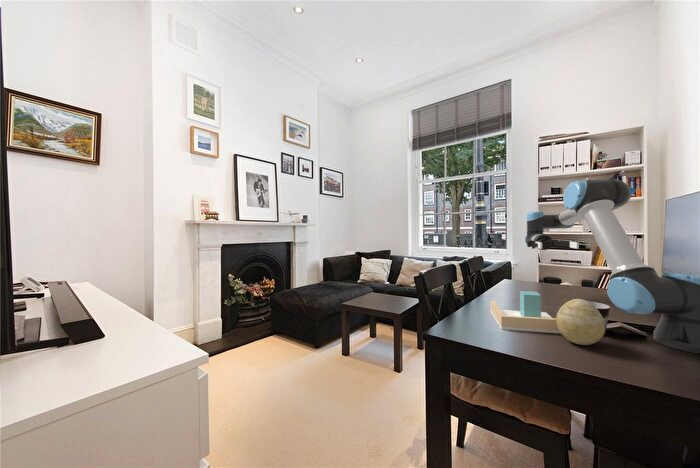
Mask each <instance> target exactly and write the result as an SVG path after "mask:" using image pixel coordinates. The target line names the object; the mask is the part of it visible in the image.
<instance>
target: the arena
mask: <svg viewBox="0 0 700 468" xmlns="http://www.w3.org/2000/svg"><path fill="white" fill-rule="evenodd" d="M489 303H490V313H491V315H492V316H493V318H494V320H495V321H496V322H497V324H498V326H499V327H500V329H501V330H504V331H505V330H506V331H519V332H533V333H534V332H535V333H537V332H538V333H550V334H561V332H560V331H559V329H558V327H557V323H556V317H552V316H551V315H550V314H548V312H546V311H544V312H543V311H541V318H539V317H523V316H521V315H520V310H510V309H509V310H508V309H501V308H500V307H499V305H498V304H497V303H496V301H495V300H490V302H489Z"/></svg>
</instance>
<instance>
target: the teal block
mask: <svg viewBox="0 0 700 468" xmlns="http://www.w3.org/2000/svg"><path fill="white" fill-rule="evenodd" d="M519 311H520V315H521V316H523V317H539V318H541V312H542V295H541V293H538V292H537V291H527V290H526V291H525V290H523V291H522V290H520V291H519Z"/></svg>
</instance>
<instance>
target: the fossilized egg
mask: <svg viewBox="0 0 700 468" xmlns="http://www.w3.org/2000/svg"><path fill="white" fill-rule="evenodd" d="M589 302H590V301H587V300H585V299H582V298H575V299H574V298H573V299H571V300H568V301H567V302H565V303H564V304H563V305H562V306H561V307H560V308H559V309H558V311H557V314H556V316H555V318H556V323H557V327H558V329H559V331H560V332H561V333H560V334H561V335H562V336H563V337H564V338H565V339H566V340H568V341H569V342H571V343H573V344H576V345H582V346H590V345H594V344H596V343H598V342H599V341H600V340H601V339H602V338H603V337H604V332H605V322H604V319H603V317H602V315H601V314H600V312H599V311H598V310H597V309H596V307H595V306H593V305H592V304H591V303H589Z"/></svg>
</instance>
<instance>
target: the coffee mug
mask: <svg viewBox="0 0 700 468" xmlns="http://www.w3.org/2000/svg"><path fill="white" fill-rule="evenodd" d="M588 302H589V303H591V304H592V305H593V306H595V307H596V309H597V310H598V311H599V312H600V314H601V315H602V317H603V319H604V322H605V332H604V335H606V331H607V325H608V319H609V314H610V310H611V309H610V307H611V306H609V305H607V304H605V303H600V302H594V301H588ZM604 335H603V336H604Z"/></svg>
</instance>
